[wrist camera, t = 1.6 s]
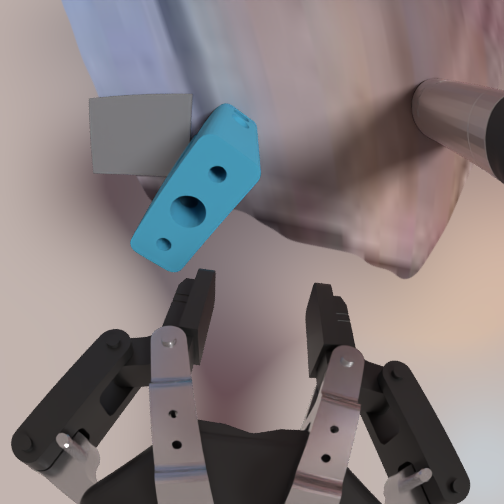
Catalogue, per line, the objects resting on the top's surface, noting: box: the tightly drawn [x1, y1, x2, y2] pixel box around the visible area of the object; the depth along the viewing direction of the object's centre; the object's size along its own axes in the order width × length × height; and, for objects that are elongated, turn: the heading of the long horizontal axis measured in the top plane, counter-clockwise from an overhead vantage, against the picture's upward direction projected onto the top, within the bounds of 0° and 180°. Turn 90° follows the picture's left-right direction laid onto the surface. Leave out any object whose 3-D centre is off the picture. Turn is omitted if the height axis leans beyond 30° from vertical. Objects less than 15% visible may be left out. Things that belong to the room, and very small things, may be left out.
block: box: [130, 104, 261, 272], centre depth 30 cm, size 12×5×20 cm, turn 141°
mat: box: [89, 94, 193, 177], centre depth 38 cm, size 16×12×1 cm
